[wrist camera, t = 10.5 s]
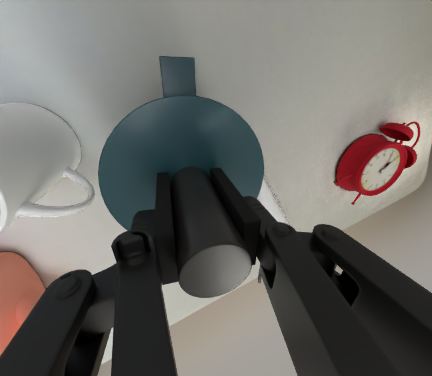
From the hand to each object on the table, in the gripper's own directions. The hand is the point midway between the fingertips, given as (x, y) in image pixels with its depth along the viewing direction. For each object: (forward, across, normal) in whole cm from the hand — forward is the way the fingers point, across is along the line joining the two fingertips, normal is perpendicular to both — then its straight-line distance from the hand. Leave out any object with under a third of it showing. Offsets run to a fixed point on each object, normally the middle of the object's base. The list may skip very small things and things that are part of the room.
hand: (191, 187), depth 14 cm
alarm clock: (+13, +33, -4) cm, 36 cm away
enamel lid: (+1, 0, 0) cm, 1 cm away
